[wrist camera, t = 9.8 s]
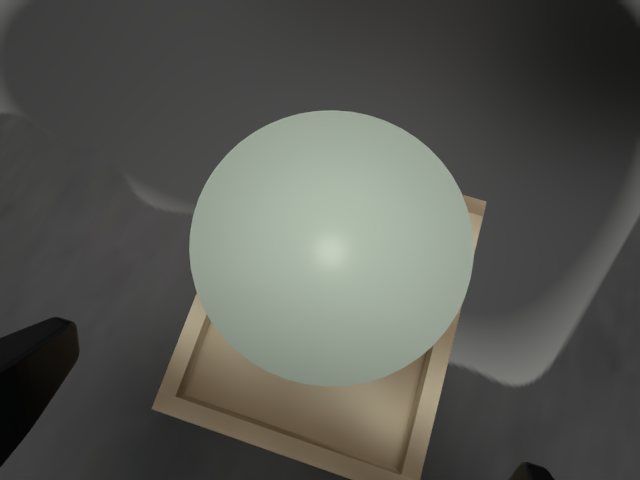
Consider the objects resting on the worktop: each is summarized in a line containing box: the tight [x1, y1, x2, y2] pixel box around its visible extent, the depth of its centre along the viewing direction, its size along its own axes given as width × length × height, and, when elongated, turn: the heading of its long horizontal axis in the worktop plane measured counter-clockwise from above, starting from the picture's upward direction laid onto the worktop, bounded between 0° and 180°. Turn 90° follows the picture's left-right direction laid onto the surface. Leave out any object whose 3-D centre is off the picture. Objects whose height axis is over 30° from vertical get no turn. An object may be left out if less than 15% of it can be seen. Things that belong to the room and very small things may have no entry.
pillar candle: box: [189, 110, 474, 387], centre depth 16 cm, size 6×6×13 cm
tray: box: [152, 195, 486, 480], centre depth 22 cm, size 14×12×2 cm
